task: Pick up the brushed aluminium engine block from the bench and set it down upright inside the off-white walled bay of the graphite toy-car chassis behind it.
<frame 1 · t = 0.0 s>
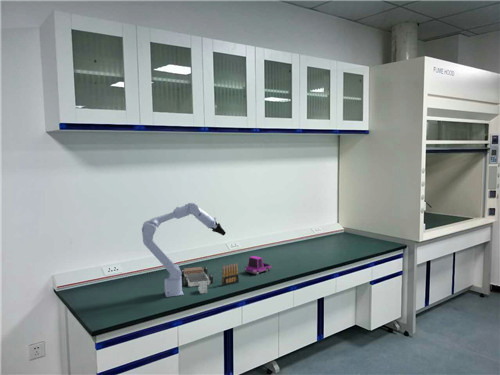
hand: (223, 232, 231), 32 cm above the worktop, tool tilted 50°, fingers open, 7 cm apart
ammunition clip: (230, 284, 242), on the worktop
engine block: (202, 291, 229), on the worktop
toy truck: (258, 272, 265), on the worktop
chassis: (197, 281, 247), on the worktop
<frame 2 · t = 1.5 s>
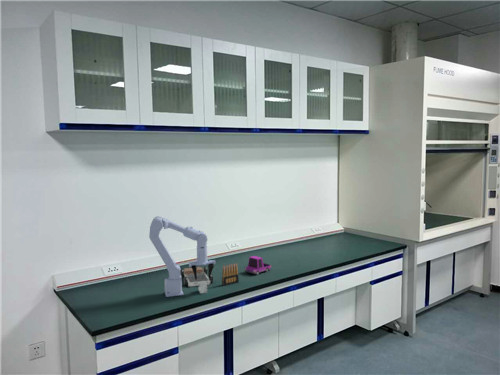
hand: (202, 277, 228), 8 cm above the worktop, tool pointing down, fingers open, 7 cm apart
nothing on the worktop moved.
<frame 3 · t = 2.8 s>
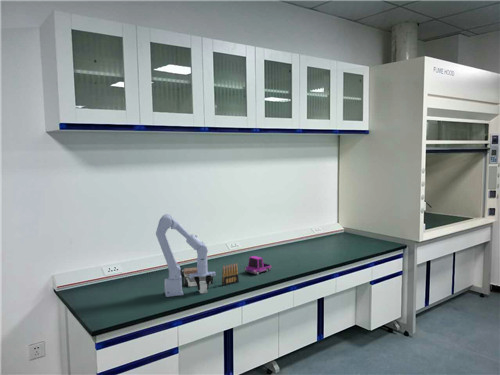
hand: (202, 289, 229), 1 cm above the worktop, tool pointing down, fingers closed on engine block, 4 cm apart
engine block: (202, 291, 229), on the worktop, touching gripper
everything else where it was.
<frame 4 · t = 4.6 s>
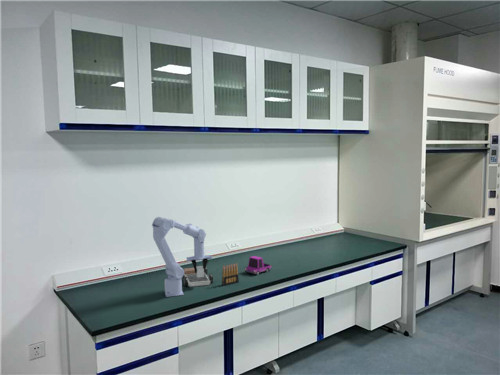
hand: (199, 272, 237), 8 cm above the worktop, tool pointing down, fingers closed on engine block, 4 cm apart
engine block: (200, 275, 237), point 6 cm above the worktop, touching gripper
everything else where it was.
when the fingers open (3 cm above the worktop, at t = 6.6 s): engine block stays where it is, resting on chassis.
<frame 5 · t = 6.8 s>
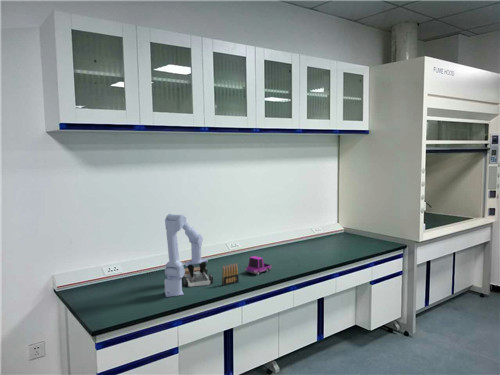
hand: (196, 275, 247), 3 cm above the worktop, tool pointing down, fingers open, 6 cm apart
engine block: (197, 280, 246), resting on chassis
everything else where it was.
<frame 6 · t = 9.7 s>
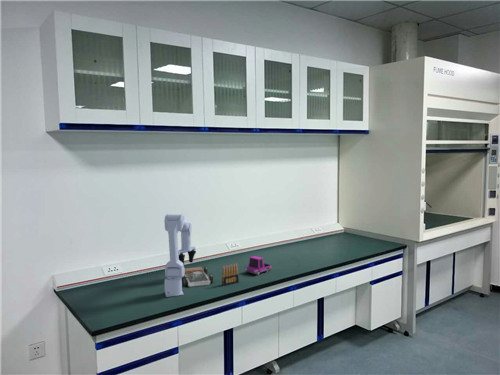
hand: (186, 263, 251), 9 cm above the worktop, tool pointing down, fingers open, 7 cm apart
nothing on the worktop moved.
at the end: engine block inside the target area on the chassis (0.6 cm from its centre), point 0.4 cm above the chassis's base; engine block tilted 0°; the gripper is holding nothing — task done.
